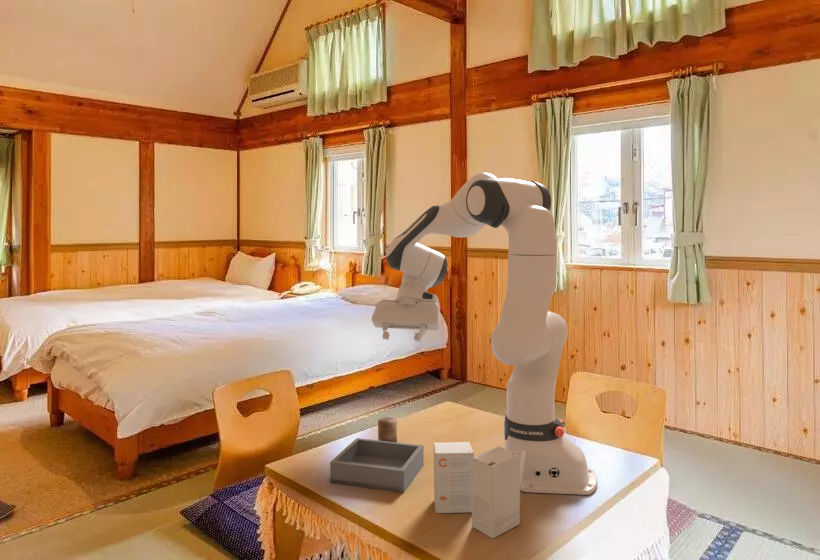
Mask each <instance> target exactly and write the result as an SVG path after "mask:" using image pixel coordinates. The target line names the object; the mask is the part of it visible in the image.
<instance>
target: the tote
mask: <svg viewBox="0 0 820 560" xmlns="http://www.w3.org/2000/svg"><path fill="white" fill-rule="evenodd" d="M424 447H425V446H424V445H423V444H414V443H407V442H398V441H397V442H388V441H379V440H377V439H369V438H368V439H367V438H359V437H356V438H355V439H354V440H353V441H351V442H350V443H349V444H348V445H347V446H346V447H345V448H344V449H343V450H341V452H339V454H337V455H336V456H335V457H334V458H333V459H332V460H331V461H329V463H330V464H329V465H330V467H329V468H330V469H329V471H330V475H329V476H330V483H331V482H333V483H332V484H336V483H339V484H338V485H344V484H345V485H346V486H351V487H360V488H366V489H367V488H368V489H375V490H381V491H388V492H389V491H391V492H395V493H396V492H397V493H403V494H404V493H405V492H406V490H407V489H408V488H409V486H410V485H411V483H412V482H413V481H414V479H415V478H416V476H417V475H418V473H419V472H420V471H421V469H422V468H423V466H424V465H425V464H424V457H425V456H424V455H425V454H424V450H425V449H424Z"/></svg>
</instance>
